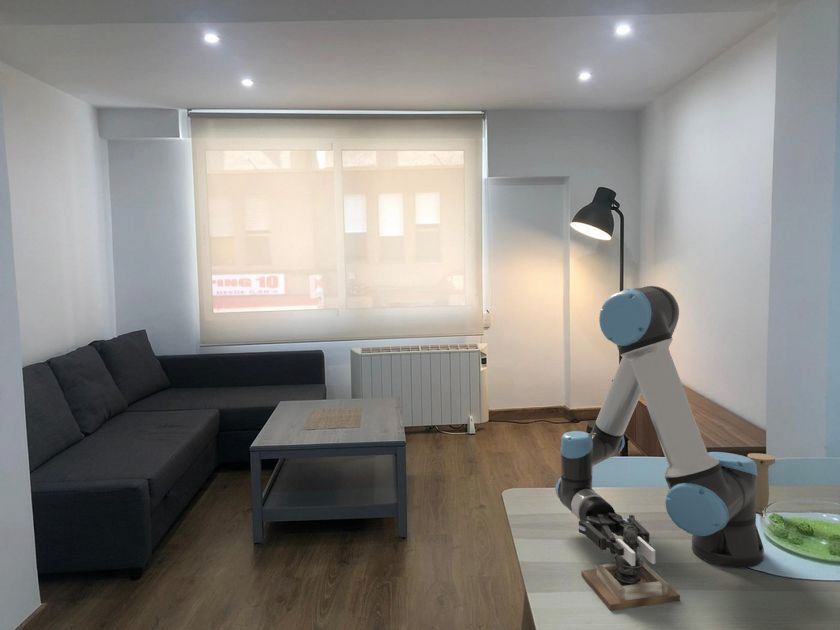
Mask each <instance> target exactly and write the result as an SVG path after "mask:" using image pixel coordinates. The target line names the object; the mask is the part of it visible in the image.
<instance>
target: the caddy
mask: <svg viewBox="0 0 840 630" xmlns="http://www.w3.org/2000/svg"><path fill="white" fill-rule="evenodd" d="M641 560H642V561H643V566H642V568H641V570H640V572H639V573H637V574H638V575H639V576H640V577H641V580H640V582H638V583H625V582H622V581H620V580H618V579H617V578H616V577H615V576H614V574H615V572H616V571H618V569H617V567H616V564H615V562H613V563H603V564H597V565H596V568H592V569H586V570H585V569H584V570H581V574H580V575H581V577H582V579H583V580H584V581H585V582H586V583H587V584H588V586H589V587H590V588H591V589H592V591H594V593H595V594H596V595H597V596H598V598H599V599H600V601H602V602H603V603H604V605H605V606H606V607H607V608H608V609H609V611H610V612H611V611H616V610H617V611H618V610H624V609H633V608H638V607H646V606H647V607H648V606H652V605H660V604H668V603H674V602H680V601H681V595H680V594H679V593H678V592H677V590H675V589H674V588H673V587H672V586H671V585H669V583H668V582H667V581H666V580H664V578H662V577H661V576H660V575H659V574H658V573H657V572H656V571H655V570H653V568H652V567H651V566H649V565H648V564H647V563H646V562H645V561H644V560H643V559H641Z"/></svg>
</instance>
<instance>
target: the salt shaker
mask: <svg viewBox="0 0 840 630" xmlns="http://www.w3.org/2000/svg"><path fill="white" fill-rule="evenodd" d="M621 540H622V541H623V542H624V543H625V544H626V545H628V546H629V547H630V548H631V549H632V550H633V551H634V552H635V566H631V565H630V564H629V563H628V562H627V561H626V560H625V559H624V558H623V557H622V556H619V555H617V554H616V555H615V556H614V557H613V560H614V563H615V564H616V567H617V569H618V571H616V572H615V574H614V576H615V577H616V578H617V579H618V580H620V581H622V582H625V583H638V582H640V580H641V577H640V576H639V575H638V574H637V573H639V572H640V570H641V568H642V566H643V561H644V560H643V559H641V558H640V557H639V556H638V550H637V547H638V546H639V543H638V542H637V540H638V529H637V528H636V527H634V526H633V523H632V522H631V523H630V525H628V526H625V527H624V533H623V537H622V539H621ZM642 560H643V561H642Z"/></svg>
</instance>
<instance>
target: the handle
mask: <svg viewBox="0 0 840 630" xmlns="http://www.w3.org/2000/svg"><path fill="white" fill-rule="evenodd" d="M746 457H748V458H750V459H752V460H753V461H754V462H755V463H756V468H757V474H758V476H757V489H756V514H761V513H762V511H763V510H764V508H765V507H767V508H768V506H769V500H770V483H769V466H772V465H773V464H775V463H776V456H774V455H771V454H768V453H767V454H766V453H759V452H758V453H753V452H751V453H748V454H747V456H746ZM762 514H763V513H762Z"/></svg>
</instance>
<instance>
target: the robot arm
mask: <svg viewBox="0 0 840 630" xmlns="http://www.w3.org/2000/svg"><path fill="white" fill-rule="evenodd" d="M679 307H680V306H679V304H678V302H677V299H676V298H675V296H674V295H673V294H672V293H671V292H670V291H668V290H667V289H666V288H662V287H660V286H656V285H655V286H654V285H648V286H643V287H637V288H629V289H628V288H626V289H624V290H621V291H618V292H615V293H613V294H612V295H610V296H609V297H608V298H607V299H606V300H605V301H604V303H603V305H602V307H601V309H600V312H599V318H598V319H599V326H600V329H601V332H602V334H603V336H604V337H605V338H606V339H607V340H608V341H610V342H612V343H613V344H614V345H616V347H617V350H618V353H619V355H620V357H622V358H621V359H620V362H619V365H618V367H617V369H616V372H615V373H614V377H613V379H612V381H611V384H610V387H609V389H608V391H607V393H606V395H605V399H604V401H603V403H602V406H601V408H600V411H599V412H598V415H597V418H596V419H595V423H594V426H593V427H592V430H591V431H590V433H588V432H586V431H582V430H580V431H579V430H572V431H567V432H565V433H563V434H562V435H561V441H560V473H561V475H560V477H559V479H557V482H556V484H555V488H554V489H555V494H556V496H557V498H558V499H559V501H560V502H561V504H562V505H563V506H564V507H566V508H567V509H568V510H569V511H570V512H571V514H573V515H574V516H575V517H576V518H577V519H578V532H579V533H580V534H581V535H584V536H586V537H587V538H588V539H589V540H590V541H591V542H592V543H594V545H595V546H597V547H598V548H599V550H602V551H606V550H607V549H609V553H610V554H611V555H615V554H616V555H619V556H622V557H623V558H624V559H625V560H626V561H627V562H628V563H629V564H630V565H631V566H635V552H634V551H633V550H632V549H631V548H630V547H629V546H628V545H626V544H625V543H624V542H623V541H622V540H623V539H621V538H616V537H615V535H616V536H617V537H620V536H621V537H622V538H623V533H624V527H625V526H628V525H630V523H631V522H632V523H633V526H634V527H636V528H637V529H638V540H637V542H638V543H639V546H638V547H637V552H638V553H639V554H641V555H642V556H643V558H644V559H646V560H647V561H648V562H649V563H650V564H656V549H654V548H653V547H652V544H651V543H650V532H649V531H648V530H647V529H646V528H644V526H643V525H642V524H641V523H640V522H639V521H637V519H636V518H635V515H633V514H629V515H628V517H623V516H622V515H621V514H618V513H617V512H616V511H615V509H614V507H613V506H612V505H611V503H609V502H608V501H606V499H604V498H603V497H602V496H601V495H600V494H599V493H597V491H596V490H594V489H593V467H594V466H596V465H598V464H600V463H602V462H604V461H606V460H608V459H610V458H613V457H615V456H616V455H618V454H619V453H620V452H622V450H623V448H624V447H625V444H626V443H625V436H624V433H625V432H626V430H627V427H628V426H629V423H630V420H631V418H632V416H633V413H634V412H635V409H636V407H637V405H638V402H639V400H640V398H641V395H642V397H643V400H644V403H645V405H646V408H647V411H648V414H649V417H650V420H651V422H652V424H653V427H654V431H655V433H656V436H657V439H658V441H659V444H660V447H661V449H662V452H663V455H664V458H665V461H666V463H667V467H666V470H665V471H664V474H663V475H664V479H665V482H666V484H667V486H668V489H669V490H668V491H667V494H666V497H665V509H666V512H667V514H668V516H669V518H670V519H671V521H672V522H673V523H674V524H675V526H677V527H678V528H680V529H681V530H683V531H685V533H688V534H690V535H692V537H691V550H692V552H693V554H695V555H696V556H697V557H698V558H700V559H702V560H704V561H706V562H708V563H710V564H714V565H717V566H722V567H727V568H737V569H743V568H752V567H755V566H758V565H760V564H761V563H762V562H763V561H764V559H765V555H764V554H765V548H764V545H763V542H762V539H761V536H760V533H759V530H758V526H757V523H756V521H757V520H756V519H757V512H756V489H757V476H758V474H757V468H756V463H755V462H754V461H753V460H752V459H750V458H748V457H747V456H744V455H740V454H736V453H730V452H721V451H709V452H708V450H707V447H706V445H705V442H704V440H703V437H702V434H701V432H700V428H699V426H698V424H697V422H696V418H695V416H694V413H693V411H692V408H691V405H690V402H689V400H688V397H687V394H686V392H685V389H684V387H683V386H684V385H683V384H682V380H681V378H680V375H679V373H678V370H677V368H676V365H675V362H674V360H673V357H672V355H671V352H670V346H671V344H672V341H673V335H674V332H675V330H676V328H677V324H678V321H679V318H680V308H679Z"/></svg>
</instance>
